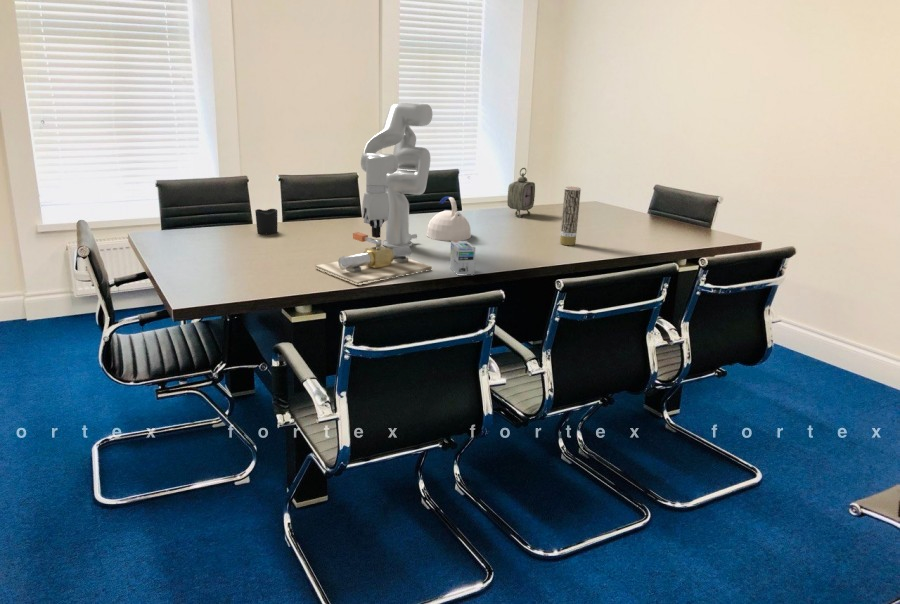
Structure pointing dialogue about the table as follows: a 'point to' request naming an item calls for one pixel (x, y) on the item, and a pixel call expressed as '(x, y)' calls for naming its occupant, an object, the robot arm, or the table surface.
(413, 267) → the valve board
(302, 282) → the table surface
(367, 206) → the robot arm
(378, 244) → the valve handle
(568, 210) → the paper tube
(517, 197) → the tabletop clock
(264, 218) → the pen holder
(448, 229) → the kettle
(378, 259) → the pipe and valve
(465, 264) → the light bulb box
